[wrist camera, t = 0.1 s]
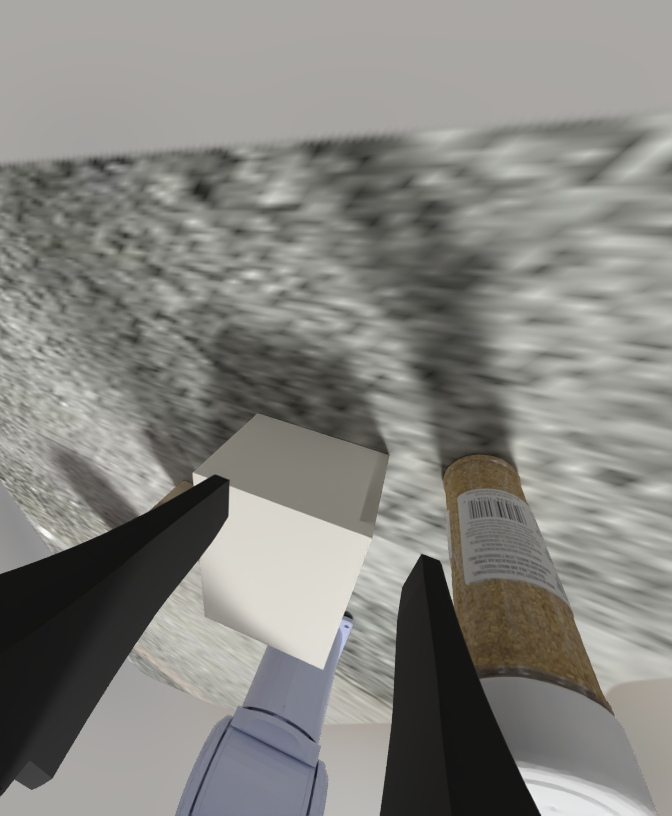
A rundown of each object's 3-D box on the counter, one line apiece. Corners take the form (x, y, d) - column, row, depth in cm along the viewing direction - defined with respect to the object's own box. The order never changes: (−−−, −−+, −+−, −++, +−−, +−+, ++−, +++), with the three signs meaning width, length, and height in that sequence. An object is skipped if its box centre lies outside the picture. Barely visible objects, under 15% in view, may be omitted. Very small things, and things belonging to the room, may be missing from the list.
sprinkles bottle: (433, 493, 21) (437, 790, 9) (457, 441, 19) (500, 747, 7) (501, 515, 20) (597, 867, 8) (534, 463, 18) (725, 846, 6)
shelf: (346, 581, 28) (323, 669, 22) (250, 543, 30) (204, 616, 24) (389, 455, 20) (372, 538, 14) (257, 413, 22) (192, 472, 16)
